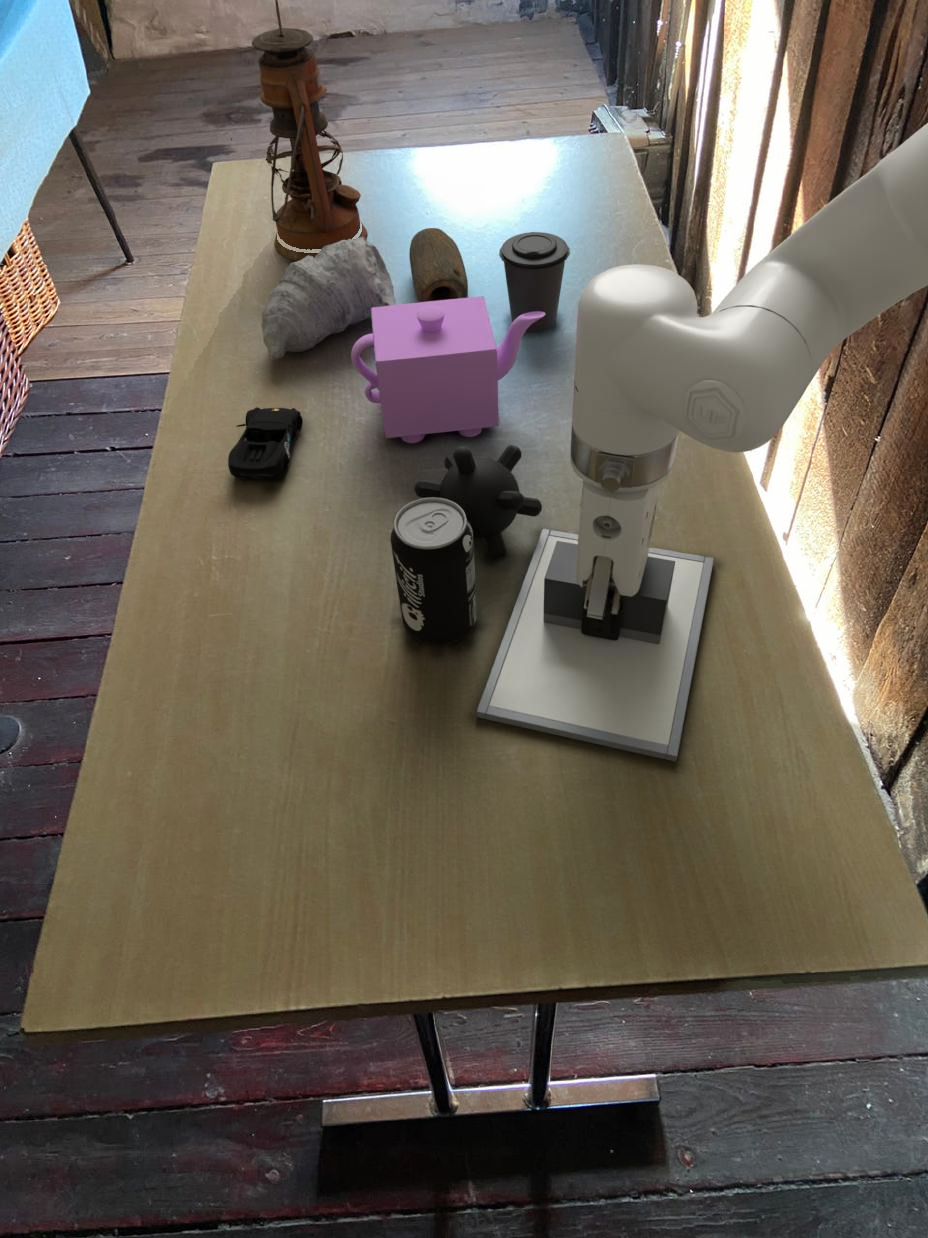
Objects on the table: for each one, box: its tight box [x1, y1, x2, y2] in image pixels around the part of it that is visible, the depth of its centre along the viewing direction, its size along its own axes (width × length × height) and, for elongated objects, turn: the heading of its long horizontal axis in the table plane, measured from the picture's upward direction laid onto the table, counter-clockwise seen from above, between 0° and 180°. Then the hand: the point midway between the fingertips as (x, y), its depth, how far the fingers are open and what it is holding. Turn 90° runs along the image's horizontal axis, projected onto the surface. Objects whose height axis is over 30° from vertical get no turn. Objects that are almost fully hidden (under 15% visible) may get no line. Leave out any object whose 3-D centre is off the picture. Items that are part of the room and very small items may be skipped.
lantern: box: [251, 0, 369, 262], centre depth 119 cm, size 17×13×30 cm
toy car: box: [227, 407, 304, 481], centre depth 98 cm, size 8×12×4 cm
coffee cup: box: [498, 231, 571, 334], centre depth 110 cm, size 8×8×10 cm
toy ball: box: [414, 444, 543, 560], centre depth 86 cm, size 11×11×12 cm
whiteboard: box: [476, 528, 715, 763], centre depth 80 cm, size 16×22×1 cm
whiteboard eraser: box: [543, 541, 675, 644], centre depth 79 cm, size 10×5×6 cm, turn 73°
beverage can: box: [390, 497, 478, 646], centre depth 78 cm, size 7×7×12 cm
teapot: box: [350, 296, 545, 444], centre depth 97 cm, size 20×10×12 cm, turn 96°
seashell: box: [261, 237, 397, 361], centre depth 110 cm, size 16×15×10 cm
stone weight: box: [408, 227, 469, 303], centre depth 116 cm, size 15×7×7 cm, turn 11°
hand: (606, 610), depth 81 cm, fingers closed on whiteboard eraser, 4 cm apart
